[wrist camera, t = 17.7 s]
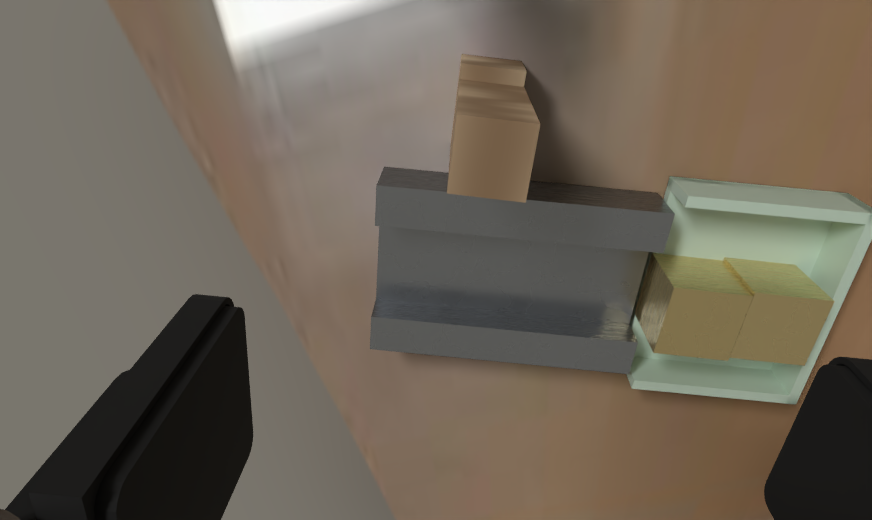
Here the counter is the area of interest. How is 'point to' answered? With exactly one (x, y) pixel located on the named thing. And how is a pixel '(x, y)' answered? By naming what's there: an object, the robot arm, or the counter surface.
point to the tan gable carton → (492, 131)
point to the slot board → (512, 271)
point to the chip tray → (762, 241)
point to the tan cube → (691, 306)
